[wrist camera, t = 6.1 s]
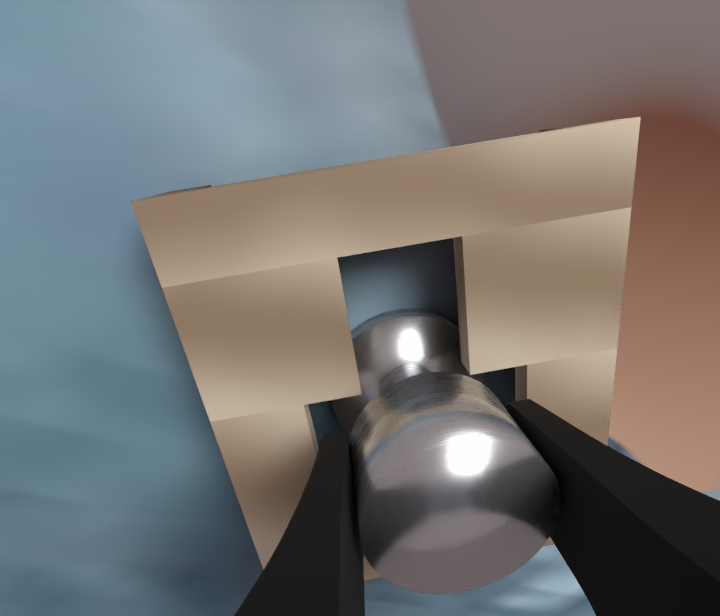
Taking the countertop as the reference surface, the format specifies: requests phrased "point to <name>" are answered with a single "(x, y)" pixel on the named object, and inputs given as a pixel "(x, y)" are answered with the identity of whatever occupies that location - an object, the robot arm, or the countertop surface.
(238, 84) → the countertop surface
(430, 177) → the keyhole plate
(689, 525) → the robot arm
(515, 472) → the peg
